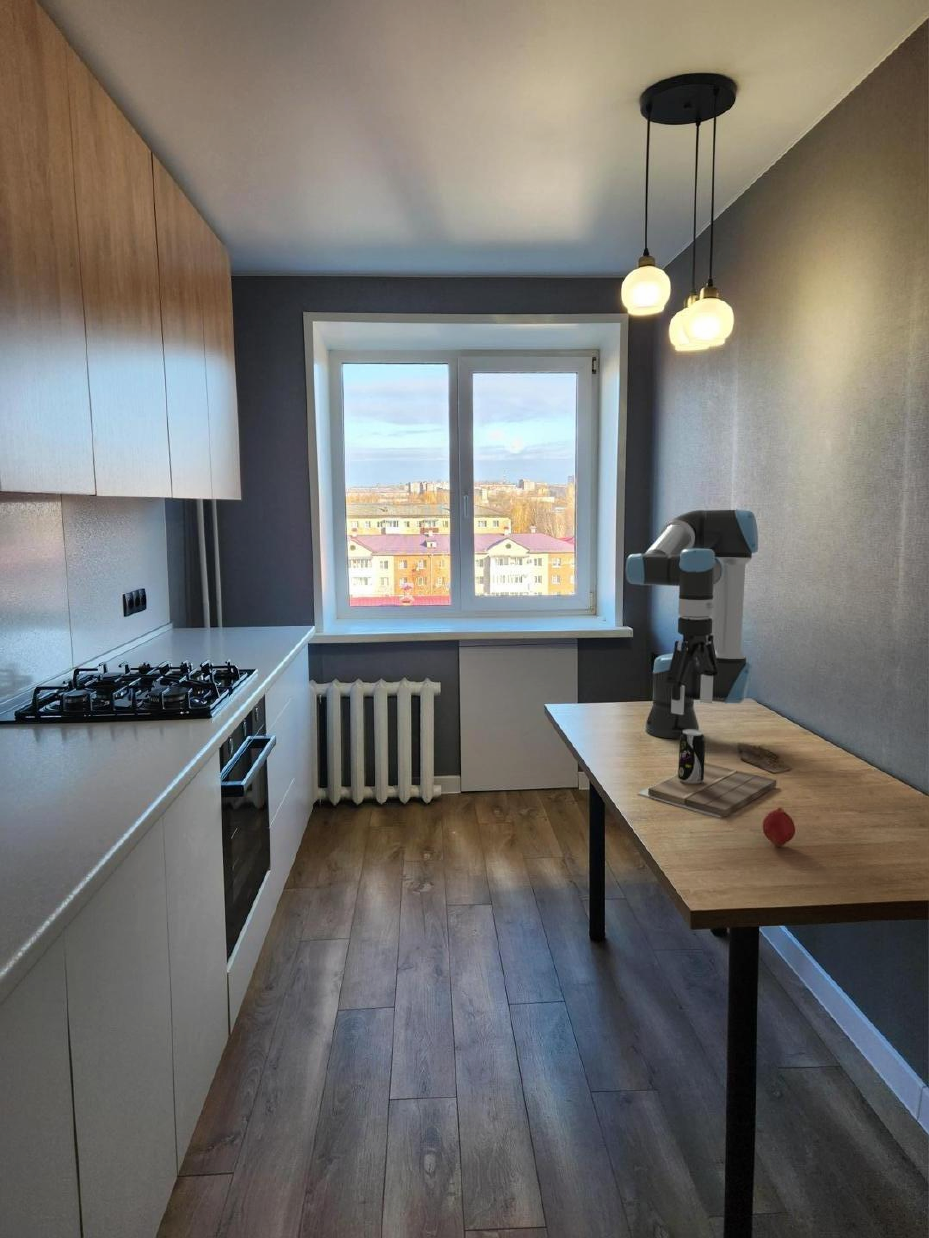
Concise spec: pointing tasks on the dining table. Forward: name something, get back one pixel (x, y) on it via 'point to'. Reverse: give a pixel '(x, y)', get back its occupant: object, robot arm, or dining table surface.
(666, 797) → the plank
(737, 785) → the laid board
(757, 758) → the wooden fragment
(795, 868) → the dining table surface
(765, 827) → the pomegranate
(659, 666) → the robot arm
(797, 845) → the dining table surface
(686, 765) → the beverage can
